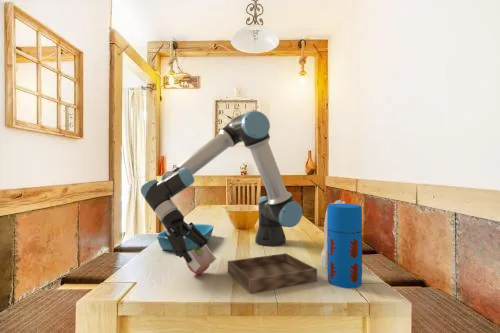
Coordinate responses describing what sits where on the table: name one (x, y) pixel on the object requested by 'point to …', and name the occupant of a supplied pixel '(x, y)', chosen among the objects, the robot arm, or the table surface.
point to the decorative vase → (324, 252)
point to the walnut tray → (271, 272)
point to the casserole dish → (203, 228)
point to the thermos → (344, 245)
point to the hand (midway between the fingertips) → (206, 264)
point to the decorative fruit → (200, 260)
